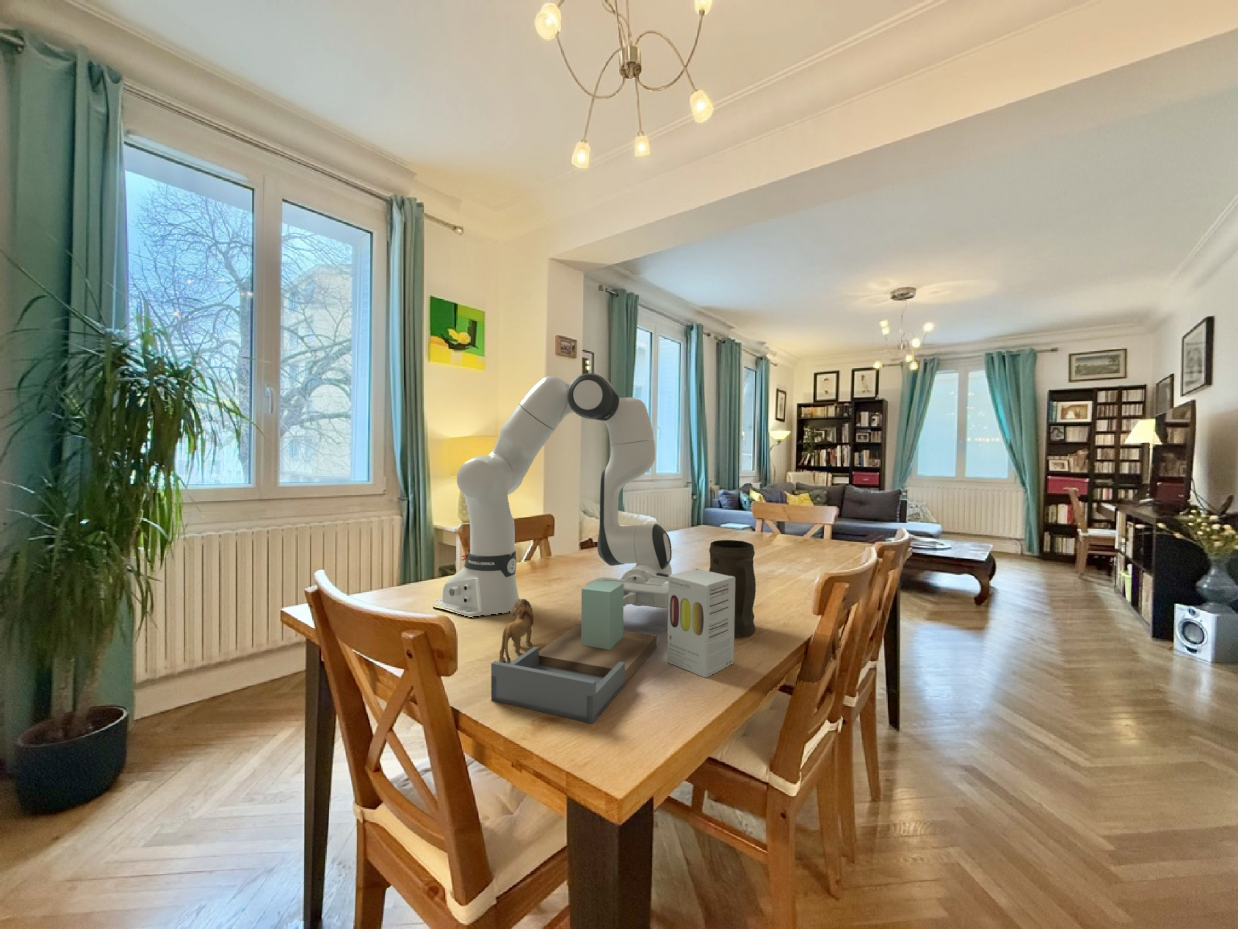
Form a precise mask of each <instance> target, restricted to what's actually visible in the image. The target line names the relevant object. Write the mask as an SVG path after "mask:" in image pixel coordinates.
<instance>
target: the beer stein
mask: <svg viewBox="0 0 1238 929" xmlns="http://www.w3.org/2000/svg"><path fill="white" fill-rule="evenodd" d="M709 545H710V547H709V551H708V553H709V570H708V571H709V572H714V573H719V574H723V575H727V576H733V577H735V620H734V638H745V637H749V636H751V635H753V634H754V633H755V631H756V626H755V622H754V619H755V614H754V603H755V599H756V587H757V585H756V582H757V581H756V575H755V569H754V557H755V554H756V553H755V547H754V544H753V543H751V542H748V541H744V540H736V539H735V540H734V539H733V540H732V539H720V540H714V541H712V542H710V544H709Z"/></svg>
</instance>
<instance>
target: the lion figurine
mask: <svg viewBox="0 0 1238 929" xmlns="http://www.w3.org/2000/svg"><path fill="white" fill-rule="evenodd" d="M509 613H511V614H512V618H513V621H512V622H508V623H507V624H506V625H505V627H504V629H503V631H502V636H501V638H502V639H501V647H500V649H499V659H498V662H503V663H504V662H505V661H506V663H508V664H509V663H511V657H510V655H509V641H510V639H511V640H512V642H513V644H512V646H513V645H514V646H513V647H515V651H514V652H515V654H516V656H517V658H518V657H520V656H521V655H523V654H524V653H523V652H521V649H520V648H521V642H522V638H523V637H524V636H526V638H525V645H526V647H527V646H528V647H529V646H533V643H532V642H531V638H532V631H533V630H532V627H533V625H534V613H533V607H532V605H531V603H530V601H529V600H527V599H526V598H519V599H518V600H517V602H516V603H515V605H514V607H512V608H511V609H510V612H509ZM504 655H505V656H504Z"/></svg>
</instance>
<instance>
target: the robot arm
mask: <svg viewBox="0 0 1238 929" xmlns="http://www.w3.org/2000/svg"><path fill="white" fill-rule="evenodd" d="M572 413H573V414H574V413H575V414H576V415H578V417H581V418H583V419H587V420H595V421H596V420H597V421H602V422H603V423H604V425H606V428H607V431H608V438H609V443H610V446H609V447H610V454H609V455H610V456H609V461H608V462H607V465H605V466H604V467H603V468H602V470H601V475H600V487H599V524H598V525H599V526H598V527H599V528H598V535H597V544H596V545H597V548H596V549H597V552H598V553H597V554H598V556H599V557H600V559H601V560H603V562H605V563H606V564H607V565H608V566H611V567H612V566H613V567H614V566H622V565H625V564H629V565H630V564H636V565H635V566H633V567H632V568H630V569H628V570H627V571H626V572H624V573H623V575H622V576H621V578H614V577H599V578H595V579H592V580H590V581H588V582H587V583H586V586H587V585H589V584H591V583H593V582H594V581H596V580H599V581H608V582H617V583H624V594H623V607H626V606H627V605H633V606H635V607H643V606H644V607H649V608H650V607H651V608H660V609H668V593H669V576H670V575H673V570H672V565H671V561H672V543H671V539H670V536H669V534H668V532H666V530H665V529H664V528H663V527H662V526H661V525H659V524H658V523H648V524H647V523H644V524H635V525H620V523H619V498H620V497H619V495H620V492H621V490H622V489H623V487H625V486H626V485H627V484H629V483H631V482H633V481H634V480H636V479H638V478H639V477H641V476H643V475H644V474H646V473H647V472H648V471H649V470H650V469H651V468H652V466H653V464H654V463H655V460H656V444H655V439H654V438H655V437H654V432H653V427H652V422H651V418H650V415H649V412H648V408H647V407H646V404H645V403H644V402H643V401H642V400H641V399H639V398H635V397H628V396H627V397H619V395H618V394H617V392H616V390H615V389H614V387H613V385H612V383H611V382H610V381H609V380H608V379H607V378H605V377H604V376H602V375H599V374H597V373H592V372H591V373H590V372H588V373H587V372H586V373H582V374H579V375H578V376H577V377H575V378H574V379H573V380H572V381H571V382H570V383H568V382H566V381H564V380H563V379H562V378H560V377H558V376H553V375H547V376H544V377H542V378H541V379H540V380H539V381H538V382H537V383H535V385H533V386H532V388H530V389H529V391H528V392H527V393H526V394H525V396H524V397H523V398H522V399H521V401H519V403H518V404H517V405H516V407H515V408H514V410H513V411H512V412H511V414H510V415H509V416H508V418H507V419H506V420H505V422H504V424H503V425H502V426H501V428H500V433H499V436H498V439H497V440H496V443H495V444H494V447H493V449H492V450H491V452H490V453H488V455H477V456H474V457H472V458H470V459H469V460H467V461H465V462H464V463H463V464H462V465H461V466H460V467H459V469H458V470H457V474H456V484H457V486H458V489H459V491H460V492H461V493H462V495H463V497H464V502H465V505H466V509H467V515H468V519H469V538H470V539H469V542H470V544H469V545H470V546H469V547H470V550H469V552H468V553H467V554H465V555H461V556H460V557H461V558H462V559H460V561H465V562H464V566H463V567H462V568H461V569H460V570H459V571H458V572H456V573H455V574H454V575H453V576H451V577H450V578H448V579H447V580H446V581H445V583H444V586H443V588H442V595H441V597H440V598H438V599H436V600H435V601H434V602H437V601H438V600H440V601H441V602H438V603H436V604H434V605H436V606H442V607H444V608H445V609H449V610H452V611H454V612H457V613H460V614H462V615H464V616H463V617H465V616H479V617H481V616H480V615H484V616H492V615H491V614H496V615H499V614H498V613H502V614H507V613H510V612H509V611H510V609H511V608H512V607H514V605H515V603H516V602H517V600H518V599H520V595H519V592H518V587H517V586H518V585H517V576H516V571H517V551H516V549H515V548H516V547H515V539H516V538H515V530H516V529H515V519H514V518H513V515H512V513H511V512H512V511H511V508H510V503H509V495H511V494H513V493H514V492H515V491H516V490H517V489H519V487H520V486H521V484H522V482H523V479H524V478H525V477H526V474H528V472H529V470H530V468H531V466H532V464H533V462H534V460H535V458H536V457H537V455H538V453H539V452H540V451H541V449H542V448H543V447H544V445H545V444H546V442H547V441H548V440H549V439H550V437H551V435H553V433H554V432H555V431H556V430H557V428H558V427H559V426H560V425H559V424H560V423H561V422H562V421H563V420H564V418H566V417H567V416H568V415H570V414H572ZM586 586H585V587H586Z"/></svg>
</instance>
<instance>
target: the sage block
mask: <svg viewBox="0 0 1238 929" xmlns="http://www.w3.org/2000/svg"><path fill="white" fill-rule="evenodd" d="M586 585H587V584H586ZM623 594H624V583H617V582H608V581H599V580H596V581H594V582H593V583H591V584H589V585H587V586H584V587H582V588H581V616H580V617H581V618H580V619H581V622H580V624H581V645H585V646H591V647H597V648H603V649H609V650H610V649H611V648H612V647H613V646H614V645H615V644H616V643H617V642H618V641H620V640H621V639H622V638H623V630H624V606H623Z"/></svg>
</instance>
